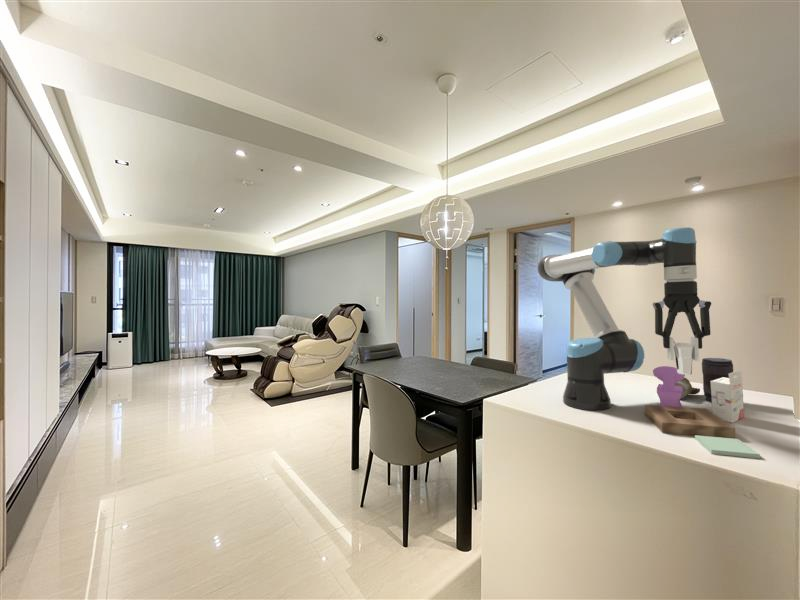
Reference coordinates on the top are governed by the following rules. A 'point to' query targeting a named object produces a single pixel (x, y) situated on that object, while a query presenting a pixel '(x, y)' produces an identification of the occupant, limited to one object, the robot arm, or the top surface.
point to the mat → (726, 446)
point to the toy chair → (669, 386)
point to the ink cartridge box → (728, 397)
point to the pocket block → (689, 421)
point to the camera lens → (714, 372)
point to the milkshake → (683, 357)
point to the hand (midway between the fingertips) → (682, 359)
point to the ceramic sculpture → (686, 387)
